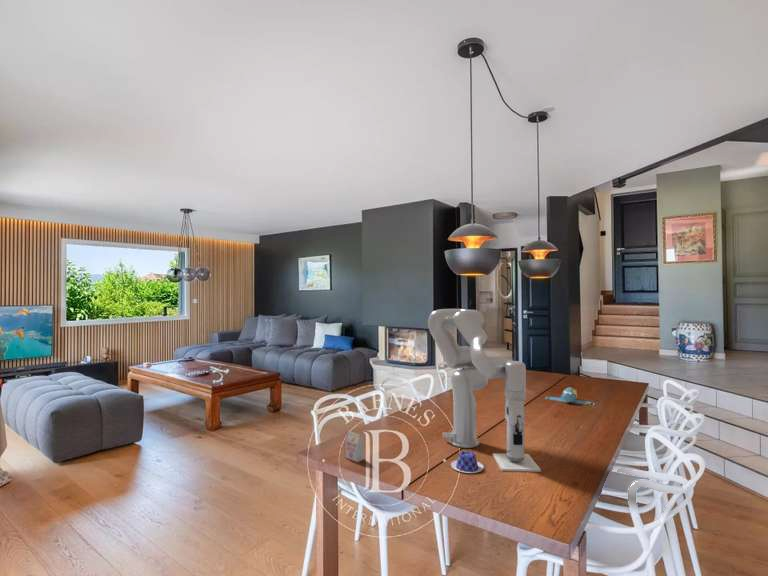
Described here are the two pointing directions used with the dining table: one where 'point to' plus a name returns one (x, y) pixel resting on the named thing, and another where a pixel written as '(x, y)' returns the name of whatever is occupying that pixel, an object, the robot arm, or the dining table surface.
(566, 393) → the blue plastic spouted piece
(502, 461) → the plate
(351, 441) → the small printed carton
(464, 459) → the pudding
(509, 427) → the travel mug
